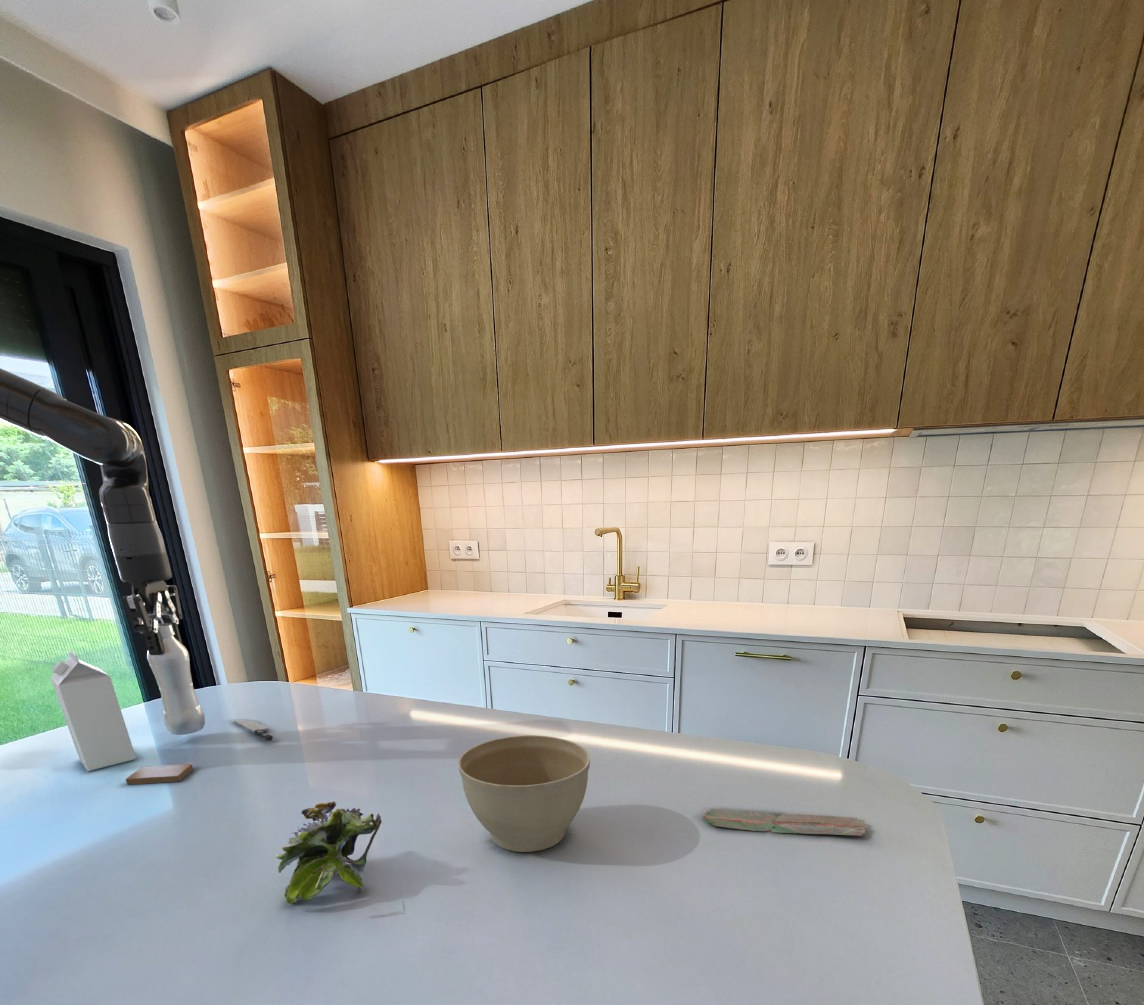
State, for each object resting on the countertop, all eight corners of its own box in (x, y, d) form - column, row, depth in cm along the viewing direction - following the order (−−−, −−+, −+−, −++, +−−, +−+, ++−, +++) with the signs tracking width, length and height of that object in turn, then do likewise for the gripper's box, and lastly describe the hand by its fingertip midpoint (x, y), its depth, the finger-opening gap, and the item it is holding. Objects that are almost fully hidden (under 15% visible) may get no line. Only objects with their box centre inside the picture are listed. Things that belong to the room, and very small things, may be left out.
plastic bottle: (159, 738, 119) (128, 629, 111) (185, 725, 125) (157, 621, 117) (191, 739, 118) (161, 629, 110) (215, 727, 124) (189, 621, 116)
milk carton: (126, 749, 118) (93, 645, 110) (136, 759, 113) (102, 651, 105) (79, 761, 113) (41, 653, 106) (88, 772, 108) (49, 660, 101)
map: (702, 812, 89) (702, 806, 89) (862, 817, 84) (863, 811, 84) (700, 830, 85) (700, 824, 84) (870, 836, 80) (870, 830, 80)
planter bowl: (527, 884, 74) (522, 798, 69) (440, 839, 84) (431, 761, 80) (617, 831, 84) (616, 753, 80) (530, 796, 95) (526, 726, 90)
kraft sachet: (127, 784, 103) (125, 779, 103) (143, 772, 108) (141, 766, 107) (179, 781, 104) (177, 775, 103) (193, 769, 108) (191, 763, 108)
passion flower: (338, 905, 80) (364, 811, 82) (389, 923, 73) (416, 819, 75) (248, 894, 72) (280, 789, 74) (297, 913, 65) (330, 796, 67)
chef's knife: (247, 717, 133) (232, 720, 131) (246, 712, 132) (231, 715, 130) (284, 739, 120) (268, 742, 118) (283, 733, 120) (267, 736, 118)
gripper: (138, 548, 115) (164, 642, 122) (91, 556, 102) (122, 661, 108) (182, 547, 116) (205, 640, 122) (141, 554, 102) (169, 659, 109)
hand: (166, 649), depth 115 cm, fingers closed on plastic bottle, 6 cm apart
